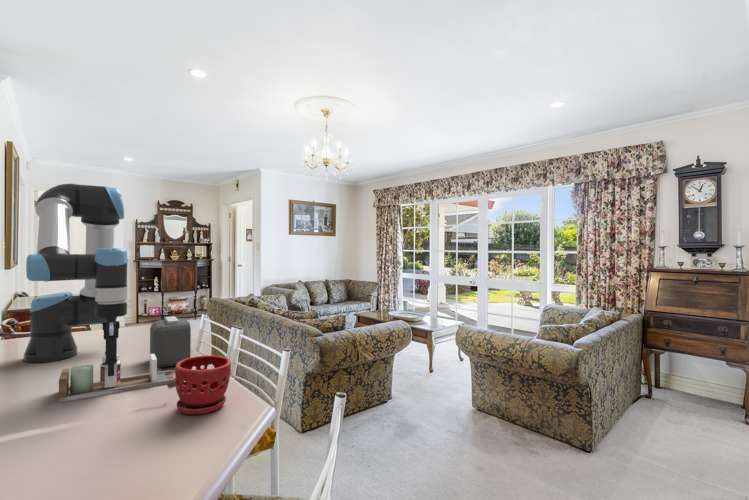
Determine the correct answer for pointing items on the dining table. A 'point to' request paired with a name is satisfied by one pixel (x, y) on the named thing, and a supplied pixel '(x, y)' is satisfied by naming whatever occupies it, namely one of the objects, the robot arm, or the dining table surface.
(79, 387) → the pale green rounded block
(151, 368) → the paddle
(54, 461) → the dining table surface
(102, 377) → the pill bottle
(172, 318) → the alarm clock
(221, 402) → the plant pot
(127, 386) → the tray
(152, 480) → the dining table surface
